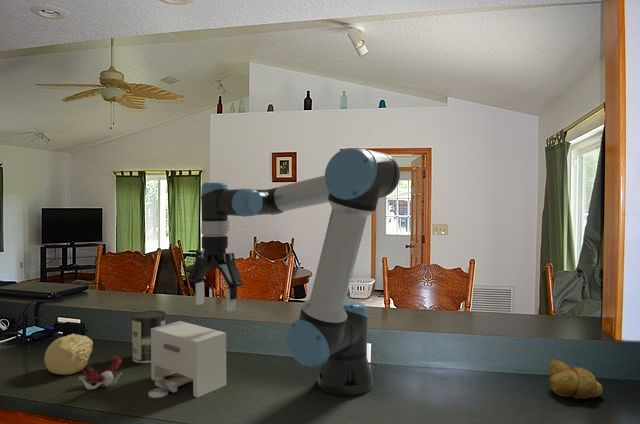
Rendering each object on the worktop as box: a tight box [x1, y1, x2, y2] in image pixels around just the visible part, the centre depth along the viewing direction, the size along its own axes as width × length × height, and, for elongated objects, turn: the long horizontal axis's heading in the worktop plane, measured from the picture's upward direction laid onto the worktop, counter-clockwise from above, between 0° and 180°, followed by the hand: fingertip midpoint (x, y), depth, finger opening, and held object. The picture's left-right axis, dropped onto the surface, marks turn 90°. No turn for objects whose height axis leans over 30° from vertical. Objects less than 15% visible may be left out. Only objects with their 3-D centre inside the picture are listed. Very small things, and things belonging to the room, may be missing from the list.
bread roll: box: [547, 358, 604, 400], centre depth 123 cm, size 13×10×8 cm
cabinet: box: [150, 320, 227, 398], centre depth 130 cm, size 20×11×14 cm, turn 54°
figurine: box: [78, 354, 123, 390], centre depth 128 cm, size 15×12×7 cm
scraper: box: [154, 374, 193, 393], centre depth 132 cm, size 8×18×10 cm, turn 144°
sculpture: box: [44, 333, 94, 376], centre depth 138 cm, size 12×12×11 cm
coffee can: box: [131, 310, 167, 364], centre depth 150 cm, size 10×10×14 cm
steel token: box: [147, 387, 169, 399], centre depth 123 cm, size 5×5×1 cm
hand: (215, 307), depth 138 cm, fingers open, 13 cm apart
